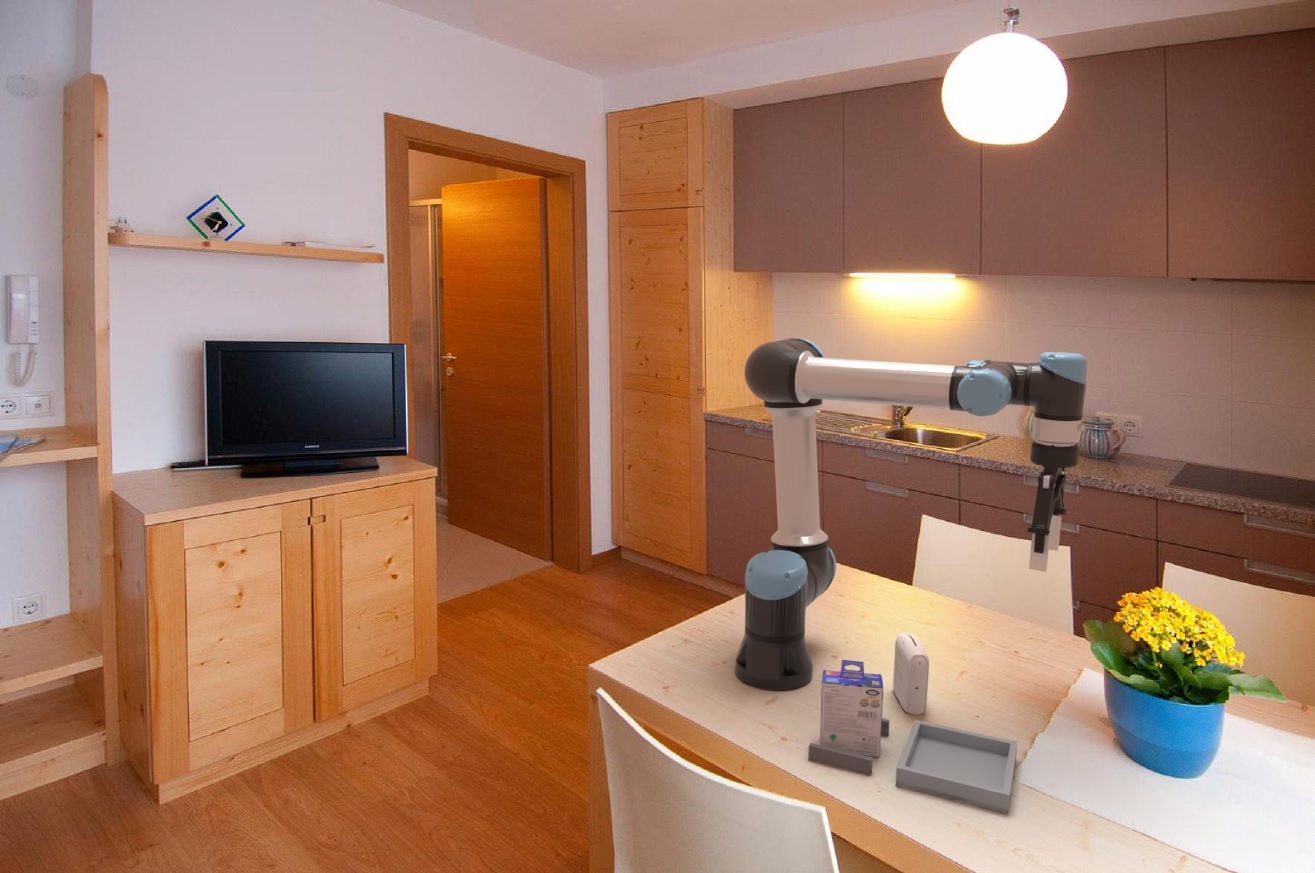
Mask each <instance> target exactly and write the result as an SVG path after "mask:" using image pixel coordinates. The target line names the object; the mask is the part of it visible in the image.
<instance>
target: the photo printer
mask: <svg viewBox="0 0 1315 873" xmlns="http://www.w3.org/2000/svg"><path fill="white" fill-rule="evenodd" d="M893 662H894V663H893V677H892V680H893V681H892V688H893V693H894V694H895V696H896V699H897V700H898V701H899V704H900V705H901V707H902V709H903V710H904V712H905V713H908V714H909V715H914V716H915V715H916V716H917V715H923V714H924V713H926V710H927V704H928V702H927V701H928V688H929V674H930V671H929V670H930V659H929V655H928V652H927V650H926V648H925V647H924V644H923V643H922V641H921V640H920V639H919V638H918V637H917V636H916V635H915V634H913V633H910V632H901V633H899V634H898V635H897V636H896V639H895V644H894V661H893Z"/></svg>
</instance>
